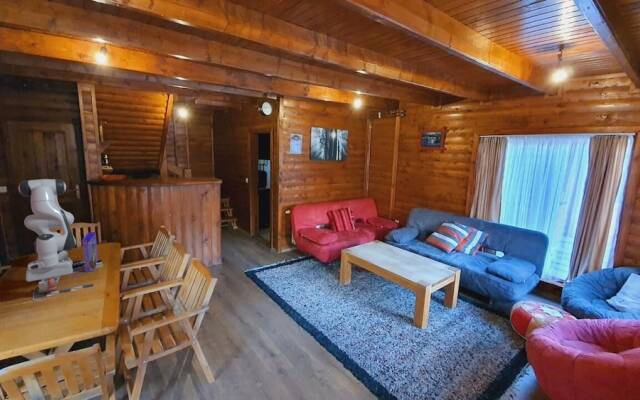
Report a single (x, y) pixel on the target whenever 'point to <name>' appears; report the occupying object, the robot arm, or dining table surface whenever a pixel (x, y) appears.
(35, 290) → the dice tray
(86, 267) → the cereal box
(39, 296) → the track board
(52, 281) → the pawn
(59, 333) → the dining table surface
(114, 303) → the dining table surface
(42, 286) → the die
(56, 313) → the dining table surface
